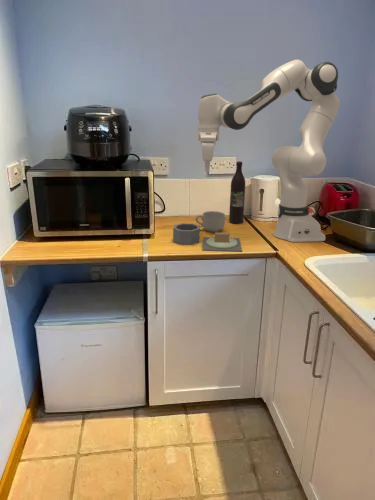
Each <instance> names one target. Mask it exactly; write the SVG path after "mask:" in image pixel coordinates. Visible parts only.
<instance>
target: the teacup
mask: <svg viewBox="0 0 375 500" xmlns="http://www.w3.org/2000/svg"><path fill="white" fill-rule="evenodd" d="M194 218H195V222H196V223H197V225H199V226H200V227H201V228H204V229H205V230H206V231H207V232H209V233H215V232H217V233H220V232H221V231H222V230H223V229H224V228H225V225H226V213H225V212H221V211H215V210H208V211H205V212H202V214H197V215H196V216H195V217H194ZM198 218H201V221H202V222H200V221H199V219H198Z"/></svg>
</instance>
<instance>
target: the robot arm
mask: <svg viewBox="0 0 375 500" xmlns="http://www.w3.org/2000/svg"><path fill="white" fill-rule="evenodd" d="M338 78H339V70H338V67H337V66H336V65H335V64H334V63H333V62H330V61H324V62H320V63H318V64H317V65H315V66H314V67H313V68H312V69H310V68H308V67H307V66H306V64H305V63H304V61H303V60H301V59H293V60H290V61H289V62H286V63H284V64H282V65H280V66H278V67H277V68H275V69H274V70H272V71H271V72H270V73H268V74H267V75H266V76H264V78H263V79H262V81H261V89H260V90H259V91H257V92H256V93H254V94H253V95H252V96H250V97H249V98H247V99H246V100H244V101H238V102H231V101H228V100H226V99H224V98H223V97H222V96H220V94H218V93H210V94H205V95H203V96H201V98H200V99H199V103H198V112H197V115H198V117H197V118H198V126H197V141H199V142H200V145H201V154H202V155H201V156H202V161H203V162H204V171H205V172H210V168H211V167H210V165H211V162H212V160H213V157H214V149H215V146H216V144H217V142H218V141H219V140H220V127H224V128H228V129H232V130H236V131H238V130H242V129H244V128H246V127H247V126H248V124H249V123H250V122H251V120H252V119H253V118H254V117H255V115H256V114H258V113H259V112H260V111H262V110H263V109H264V108H266V107H267V106H269V105H271V103H274V102H275V101H277V100H279V99H281V98H283V97H286V96H287V95H288V94H290V93H291V92H293V91H294V92H295V93H296V94H297V95H298V96H299V98H300V99H301V100H303V101H305V102H312V103H311V106H310V109H309V110H308V112H307V114H306V116H305V117H304V120H303V122H302V124H301V125H300V127H299V131H298V132H299V135H300V137H301V139H302V141H301V144H300V145H299V146H296V145H295V146H294V145H284V146H279V147H276V149H275V150H274V151H273V153H272V155H271V162H272V165H273V167H274V168H275V170H276V172H277V173H278V177H279V181H280V200H279V201H280V202H279V204H278V208H277V209H278V210H277V222H276V226H275V229H274V232H273V233H272V234H273V235H274V237H276V238H279V239H281V240H285V241H288V242H290V243H307V242H308V243H309V242H311V243H312V242H324V241H326V235H325V234H324V233H323V232H322V228H321V225H320V223H319V221H317V220H316V219H315V217H313V216H312V215H310V214H313V212H314V210H313V209H312V208H311V207H310V206H308V205H307V202H308V201H307V199H308V191H309V189H308V186H307V184H306V183H305V182H304V181H303V179H302V176H318V175H320V174H321V173H323V171H324V169H326V165H327V157H326V153H324V150H323V149H324V142H325V139H326V136H327V135H328V133H329V130H330V129H331V127H332V125H333V123H334V121H335V118H336V117H337V114H338V111H339V108H340V103H341V102H340V98H339V97H338V96H337V95H336V94H335V92H336V91H337V88H338Z"/></svg>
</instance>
